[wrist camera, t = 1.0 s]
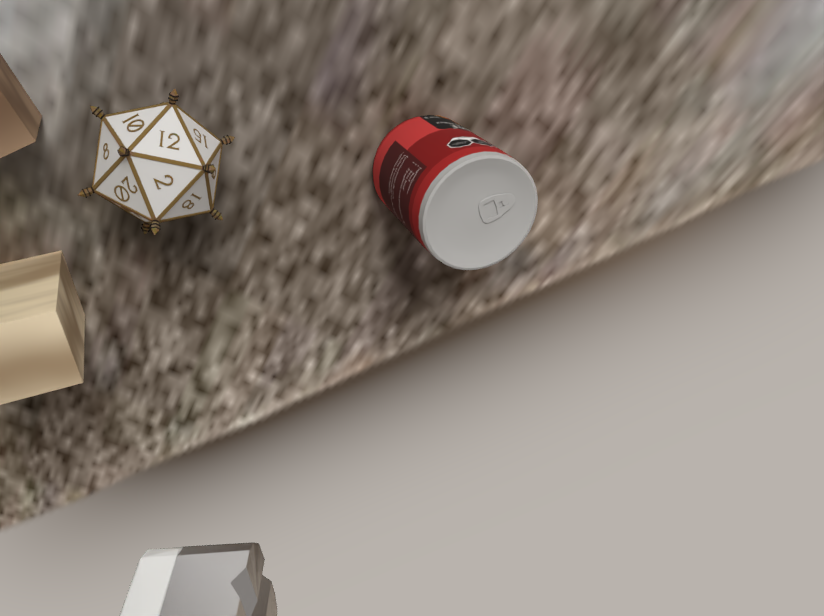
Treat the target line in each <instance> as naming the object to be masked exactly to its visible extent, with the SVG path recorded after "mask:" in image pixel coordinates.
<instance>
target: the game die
mask: <svg viewBox="0 0 824 616" xmlns="http://www.w3.org/2000/svg"><path fill="white" fill-rule="evenodd" d="M169 95H170V96H169V98H168V99H169V102H167V103H164V102H162V103H160V104H157V105H152V106H147V107H142V108H137V109H132V110H127V111H122V112H117V113H112V114H107V115H105V114H104V113H103V112H102V111H103V110H100V109H99V107H94V106H90V108H91V110H92V114H94V115H96V117H99V118H100V119H101V124H100V132H99V139H98V147H97V154H96V161H95V169H94V176H93V184H92V187H91V188H86V189H82V191H81V192H80V193H79V194H78V196H83V197H86V198H87V196H89V195H90V196H91V194H92V193H96V194H98V195H99V196H101V197H103V198H104V199H106V200H108V201H109V202H111V203H113V204H114V205H116V206H118V207H120V208H121V209H123V210H125V211H126V212H128V213H130V214H131V215H133V216H135V217H136V218H138V219H140V220H141V221H143V222H144V223H143V224H142V227H141V229H142V230H143V232H144V234H146V233H147V232H149V231H150V229H151V231H152V232H153V234H154V235H155V234H156V233H157V232H158V231H159V230H160V228H159V227H160V225H159V223H161V222H166V221H171V220H176V219H181V218H185V217H190V216H195V215H200V214H205V213H211V214H212V217H214V218H215V220H216V219H218V220H223V219H222V216H221V213H219V212H218V210H217V211H216V210H214V209H213V208H214V201H215V194H216V187H217V180H218V173H219V166H220V159H221V152H222V145H223V144H226V145H227V144H228V143H229V144H230V143H231V142H232V140H233V139H234V138H235V137H231V136H228V135H227V136H226V137H223V138H222V139H219V138H217V137H216V136H215V135H214V134H212V133H211V132H210V131H209V130H207V129H206V128H205V127H204V126H202V125H201V124H200V123H199V122H197V121H196V120H195V119H194V118H192V117H191V116H190V115H189V114H187V113H186V112H185V111H184V110H182V109H181V108H180V107H179V106H177V105H176V104H175V103H176V101H178V97H179V96H178V94H177V92H176V89H174V90H173V91H172V92H170V93H169ZM150 224H151V225H150Z"/></svg>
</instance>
